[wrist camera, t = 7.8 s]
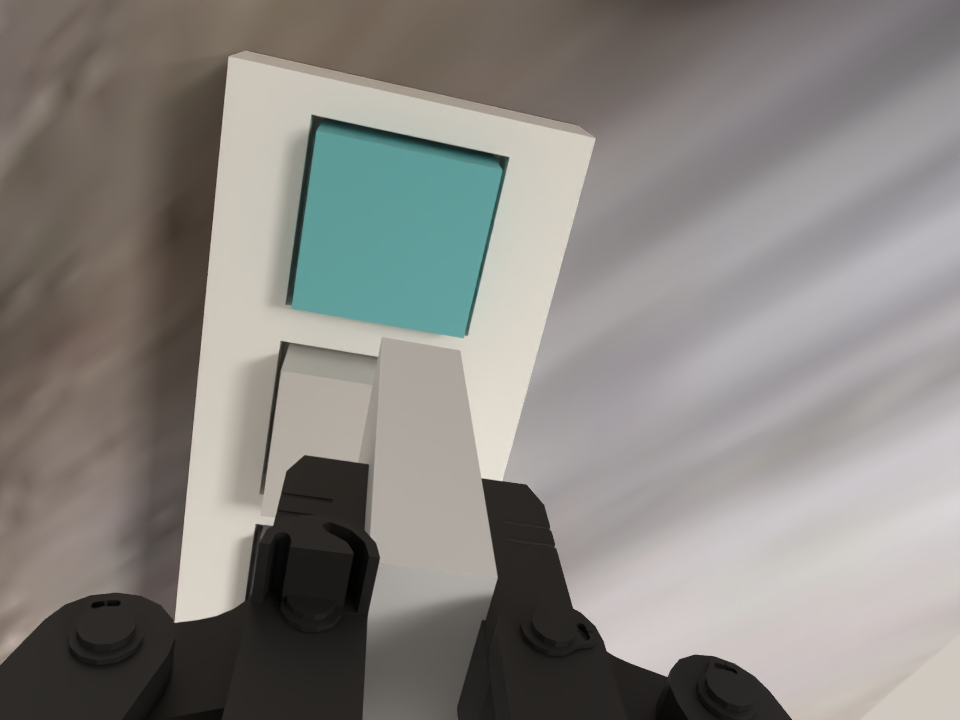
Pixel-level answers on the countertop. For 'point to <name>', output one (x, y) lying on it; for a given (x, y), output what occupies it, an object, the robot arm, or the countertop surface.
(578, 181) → the keypad
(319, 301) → the teal key
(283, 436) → the grey key
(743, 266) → the countertop surface
